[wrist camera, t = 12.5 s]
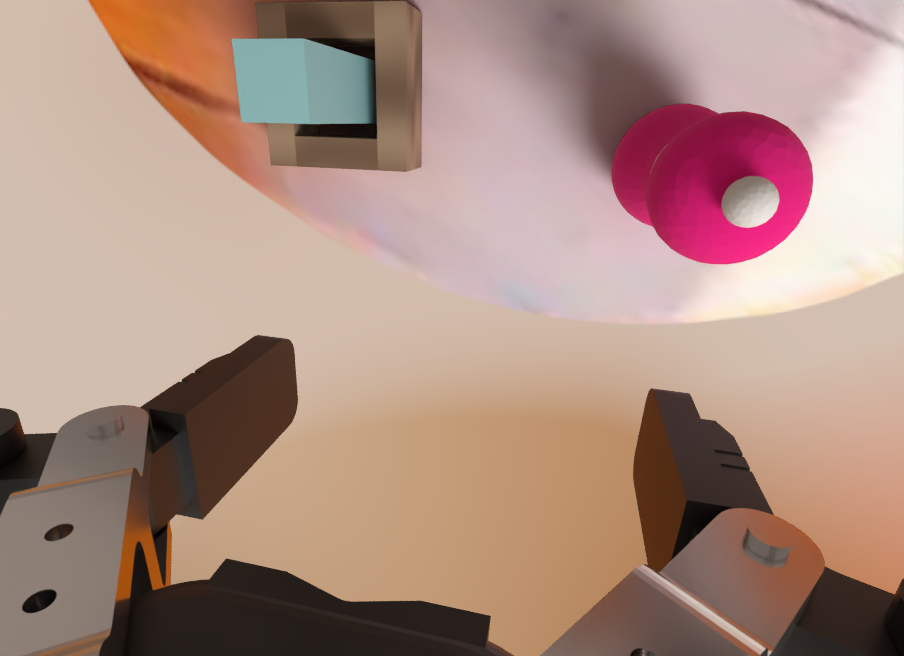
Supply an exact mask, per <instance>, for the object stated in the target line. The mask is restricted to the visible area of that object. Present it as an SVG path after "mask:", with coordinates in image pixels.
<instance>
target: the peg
mask: <svg viewBox="0 0 904 656" xmlns="http://www.w3.org/2000/svg"><path fill="white" fill-rule="evenodd" d="M232 46H233V55H234V63H235V72H236V80H237V89H238V97H239V105H240V114H241V122H250V123H289V124H366V123H377V107H376V65H375V61H374V60H371V59H368V58H365V57H361V56H358V55H355V54H352V53H349V52H345V51H342V50H339V49H336V48H333V47H329V46H326V45H323V44H320V43H317V42H313V41H310V40H307V39H304V38H297V39H232Z"/></svg>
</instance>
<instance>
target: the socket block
mask: <svg viewBox="0 0 904 656" xmlns="http://www.w3.org/2000/svg"><path fill="white" fill-rule="evenodd" d="M255 4H256V14H257V25H258V35H259V39H297V38H304V39H307V40H310V41H313V42H317V43H320V44H323V45H326V46H375V65H376V107H377V137H364V136H337V135H320V133H319V124H289V123H267V129H268V139H269V150H270V160H271V165H280V166H301V167H321V168H342V169H362V170H383V171H403V172H407V171H410V170H413V169H416V168H420V167H421V125H422V13H421V12H420V11H418V10H417V9H416V8H414V7H413V6H412V5H410V4H409V3H408V2H406V1H347V2H261V3H255Z"/></svg>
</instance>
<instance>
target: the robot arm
mask: <svg viewBox="0 0 904 656" xmlns="http://www.w3.org/2000/svg"><path fill="white" fill-rule="evenodd" d="M297 404H298V395H297V383H296V370H295V354H294V347H293V344H292V342H291V341H290V340H289V339H283V338H276V337H268V336H261V335H257V336H254V337H253V338H251V339H250V340H248V341H247V342H246V343H244V344H243V345H241V346H240V347H238V348H237V349H235V350H234V351H232V352H231V353H229V354H226V355H224V356H221V357H218V358H215V359H213V360H211V361H209V362H208V363H206V364H205V365H203V366H202V367H200V368H199V369H197V370H196V371H195V373H191V374H190V375H188V376H187V377H185V378H184V379H182V382H178V383H176V384H174V385H173V386H171V387H170V388H168V389H167V390H165V391H164V392H163V393H161V394H160V395H158V396H156V397H155V398H154V399H152V400H150V401H149V402H147V403H146V404H144V405H143V406H141V407H136V406H129V405H118V406H109V407H104V408H99V409H95V410H92V411H89V412H86V413H84V414H81V415H79V416H77V417H75V418H73V419H71V420H70V421H68V422H67V423H65V424H64V425H63V426H62V427H61V428H60V430H59V431H58V433H49V434H48V433H47V434H24V432H23V429H22V426H21V422H20V419H19V416H18V414H17V413H16V412H15V411H12V410H10V409H4V408H3V409H2V408H0V656H514V655H512V654H511V653H509V652H507V651H506V650H504V649H503V648H501V647H500V646H498V645H495V644H494V643H492V642H490V641H488V637H489V627H490V617H491V616H488V615H483V614H479V613H474V612H470V611H465V610H461V609H456V608H451V607H447V606H442V605H438V604H433V603H428V602H424V601H376V602H375V601H373V602H371V601H370V602H349V601H343V600H341V599H338V598H336V597H334V596H332V595H331V594H329V593H327V592H325V591H323V590H321V589H319V588H317V587H315V586H313V585H311V584H309V583H307V582H306V581H304V580H302V579H300V578H298V577H296V576H294V575H292V574H290V573H288V572H286V571H281V570H277V569H271V568H267V567H263V566H258V565H254V564H249V563H244V562H240V561H235V560H230V559H226V560H225V561H224V562H223V563H222V564H221V566H220V567H219V568H218V569H217V571H216V572H215V573H214V574H213V576H212V577H211V578H210V580H197V581H189V582H184V583H178V584H174V585H171V556H172V553H171V552H172V532H171V526H170V520H171V519H172V518H173V517H174V516H175V515H176V514H178V515H183V516H188V517H193V518H198V519H203V518H204V517H205V516H206V515H207V514H208V513H209V512H210V511H211V510H212V509H213V508H214V506H215V505H216V504H217V503H218V502H219V501H220V500H221V499H222V498H223V497H224V496H225V495H226V494H227V492H228V491H229V490H230V489H231V488H232V487H233V486H234V485H235V484H236V483H237V482H238V480H240V478H241V477H242V476H243V475H244V474H245V473H246V472H247V471H248V470H249V469H250V468H251V467H252V465H253V464H254V463H255V462H256V461H257V460H258V459H259V458H260V457H261V455H263V454H264V452H265V451H266V450H267V449H268V448H269V447H270V446H271V445H272V444H273V443H274V442H275V441H276V439H277V438H278V437H279V436H280V435H281V434H282V433H283V432H284V431H285V430H286V429H287V427H288V426H289V425H290V424H291V423H292V421H293V419H294V416H295V414H296V410H297ZM633 479H634V487H635V492H636V498H637V504H638V510H639V516H640V521H641V527H642V533H643V539H644V545H645V551H646V556H647V562H648V565H646V564H643V565H640V566H638V567H637V568H635V569H634V570H633V571H632V572H631V573H630V574H629V575H627V576H626V577H625V578H624V579H623V580H622V581H621V582H620V583H619V584H618V585H616V586H615V587H614V588H613V589H612V590H611V591H610V592H609V593H608V594H607V595H606V596H605V597H603V598H602V599H601V600H600V601H599V602H598V603H597V604H596V605H595V606H594V607H593V608H592V609H591V610H589V611H588V612H587V613H586V614H585V615H584V616H583V617H582V618H581V619H580V620H578V621H577V622H576V623H575V624H574V625H573V626H572V627H571V628H570V629H569V630H568V631H566V632H565V633H564V634H563V635H562V636H561V637H560V638H559V639H558V640H557V641H556V642H555V643H553V644H552V645H551V646H550V647H549V648H548V649H547V650H546V651H545V652H544V653H542V654H541V655H540V656H904V579H903V580H902V581H901V583H900V585H899V587H898V589H897V591H896V594H895V595H894V594H892V593H889V592H887V591H884V590H881V589H879V588H876V587H873V586H871V585H868V584H866V583H863V582H860V581H858V580H855V579H852V578H850V577H847V576H845V575H842V574H840V573H837V572H835V571H833V570H831V569H829V568H827V567H825V565H824V564H825V562H824V558H823V555H822V553H821V551H820V549H819V548H818V547H817V545H816V544H815V543H814V542H813V541H812V540H811V539H810V538H809V537H808V536H807V535H806V534H805V533H803V532H802V531H801V530H799V529H798V528H796V527H795V526H794V525H792V524H790V523H788V522H787V521H785V520H783V519H781V518H779V517H776V516H774V514H773V512H772V510H771V508H770V506H769V505H768V503H767V501H766V499H765V497H764V495H763V493H762V491H761V489H760V487H759V485H758V483H757V481H756V479H755V477H754V475H753V473H752V472H750V468H749V466H748V464H747V462H746V460H745V458H744V457H742V452H741V450H740V448H739V446H738V444H737V442H736V440H735V438H734V437H733V436H732V435H731V434H730V433H729V432H728V431H726V430H725V429H724V428H723V427H722V426H720V425H719V424H718V423H717V422H716V421H712V420H705V419H701V418H700V416H699V414H698V411H697V409H696V407H695V404H694V402H693V400H692V397H691V395H690V394H688V393H681V392H674V391H667V390H659V389H650V390H649V393H648V395H647V399H646V403H645V408H644V413H643V417H642V422H641V427H640V432H639V436H638V442H637V446H636V451H635V457H634V467H633Z"/></svg>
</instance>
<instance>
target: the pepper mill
mask: <svg viewBox="0 0 904 656" xmlns="http://www.w3.org/2000/svg"><path fill="white" fill-rule="evenodd" d="M612 183H613V187H614V191H615V194H616V196H617V198H618V200H619V202H620V203H621V205H622V206H623V207H624V209H625V210H626V211H627V212H628V213H629V214H631V215H632V216H633V217H634V218H636V219H637V220H639V221H641V222H642V223H645V224H648V225H650V226H653V227H654V229H655V230H656V232H657V234H658V236H659V237H660V238H661V239H662V240H663V241H664V242H665V243H666V244H667V245H668V246H669V247H670V248H671V249H673V250H674V251H676V252H677V253H679V254H681V255H683V256H685V257H687V258H689V259H692V260H695V261H698V262H701V263H709V264H732V263H739V262H743V261H746V260H750V259H753V258H756V257H758V256H760V255H762V254H764V253H766V252H768V251H769V250H771V249H773V248H774V247H776V246H777V245H778V244H780V243H781V242H782V241H784V240H785V239H786V238H787V237H788V236H789V234H790V233H791V232H792V231H793V230H794V229H795V228H796V227H797V225H798V224H799V222H800V220H801V219H802V217H803V216H804V214H805V212H806V210H807V207H808V205H809V201H810V197H811V194H812V185H813V173H812V164H811V161H810V158H809V155H808V152H807V150H806V149H805V147H804V145H803V144H802V142H801V141H800V139H799V138H798V137H797V136H796V134H794V133H793V132H792V131H791V130H790V129H789V128H788V127H787V126H785V125H783V124H782V123H780V122H778V121H776V120H774V119H772V118H769V117H767V116H764V115H761V114H756V113H751V112H744V111H743V112H727V113H721V114H718V113H716V112H714V111H712V110H710V109H708V108H705V107H702V106H698V105H692V104H674V105H668V106H665V107H661V108H658V109H656V110H654V111H652V112H650V113H648V114H646V115H645V116H644V117H642V118H641V119H639V120H638V121H637V122H636V123H635V124H634V125H633V126H632V127H631V128H630V129H629V130H628V131H627V132H626V134H625V135H624V137H623V138H622V139H621V141H620V143H619V145H618V147H617V150H616V152H615V155H614V159H613V164H612Z"/></svg>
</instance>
